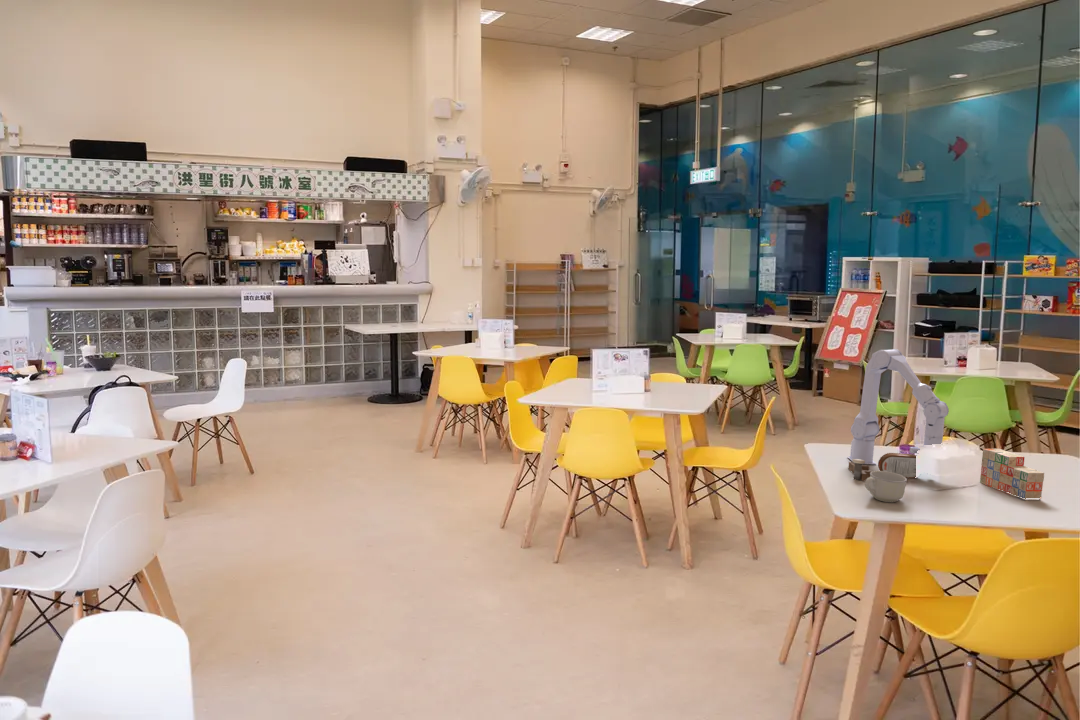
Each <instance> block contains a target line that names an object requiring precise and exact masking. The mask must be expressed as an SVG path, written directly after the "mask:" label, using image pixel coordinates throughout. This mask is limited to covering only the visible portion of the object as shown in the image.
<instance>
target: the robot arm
mask: <svg viewBox="0 0 1080 720" xmlns="http://www.w3.org/2000/svg"><path fill="white" fill-rule="evenodd" d="M887 370H889V371H890V370H891V371H893V372H897V373H899V375H900V376H901V377H902V378H903V379H904V380H905V382H906V383H907V384H908V385H909V386H910V387H911V388H912V390H911V391H912V392H911V394H912V395H913V396H914V398H915V399H916V401H917V402H918V403H919V405H920V406H921V407H922V408H923V410H922V411H923V415H924V417H925V427H924V428H925V429H924V438H923V446H924V445H932V444H941V443H942V444H943V439H944V428H945V420H946V419H945V418H946V417H947V416H948V414H949V409H950V408H949V406H948V404H947V403H946V402H945V401H943V400H942V401H941V399H940V398H939V397H937V396H936V394H935V393H934V392H933V390H932V389H933V388H932V387H931V386H930V385H928V384H926V383H922V382H921V380H920V379H919V378H918V376H917V375H916V373H915V372H914V370H913V369H912V367H911V366H910V364H909V363H908V359H907V358H906V356H905V355H904V354H903V353H902V351H901V350H899V349H898V348H892V349H879V350H876V351H875V352H873V353H872V354H871V358H870V359H869V361H868V362H867V364H866V366H865V372H864V378H863V380H864V381H863V385H862V395H861V402H860V410H859V413H858V414H857V415H856V416H855V418H854V419H853V423H852V425H851V427H850V433H851V435H852V436H853V437H852V438H853V439H852V440H851V443H850V453H849V455H850V456H847V459H848V460H850V462H852V461H853V459H861V460H864V461H865V463H864V464H863V465H877V462H876V461H874V450H875V439H876V437H877V435H878V434H879V433H880V424H879V417H878V416H877V414H876V412H877V405H878V397H879V391H880V385H881V384H880V382H881V377H882V374H883V373H884V372H885V371H887ZM918 447H919V446H909V454H913V455H915V454H918V453H917V451H918V450H920V448H918Z"/></svg>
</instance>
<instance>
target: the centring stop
mask: <svg viewBox="0 0 1080 720" xmlns="http://www.w3.org/2000/svg"><path fill="white" fill-rule="evenodd" d="M864 463H865V461H864V460H861V459H853V461H849V462H848V467H847V469H848V470H849V471H850V472H851V471H852V472H853V473H852V472H851V473H852V474H853V478H854V479H853V480H855V479H856V480H855V481H863V482H865V481H866V479H867V478H869V477H870V472H872V471H873V470H869V469H870V468H869V467H870V466H869V464H864Z"/></svg>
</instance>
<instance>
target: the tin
mask: <svg viewBox="0 0 1080 720" xmlns="http://www.w3.org/2000/svg"><path fill="white" fill-rule="evenodd" d="M916 456H917V455H916V454H912V453H898V452H887V453H884V454H883V455H882V456H880V457H879V459H878V462H877V466H878V469H879V470H878V471H887V472H892V473H896V474H899V475H902V476H904V477H905V478H906V479H916V478H915V477H916Z"/></svg>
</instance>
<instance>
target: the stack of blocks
mask: <svg viewBox="0 0 1080 720" xmlns="http://www.w3.org/2000/svg"><path fill="white" fill-rule="evenodd" d="M1044 478H1045V472H1043V471H1040V470H1037V469H1034V468H1031V467H1029V466H1025V456H1023V455H1020V454H1017V453H1014V452H1010V451H1007V450H1004V449H1001V448H983V449H982V455H981V469H980V478H979V483H980V484H983V485H986V486H987V485H988V486H987V487H990V488H992V487H994V488H996V489H995V490H997V489H1000V490H1003V491H1005V492H1009V493H1011V494H1013V495H1016V496H1019V497H1022V498H1025V499H1026V498H1040V497H1041V498H1042V493H1043V487H1044V486H1043V484H1044V481H1045V479H1044ZM994 488H993V489H994ZM1000 490H999V491H1000ZM1005 492H1004V493H1005Z"/></svg>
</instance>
